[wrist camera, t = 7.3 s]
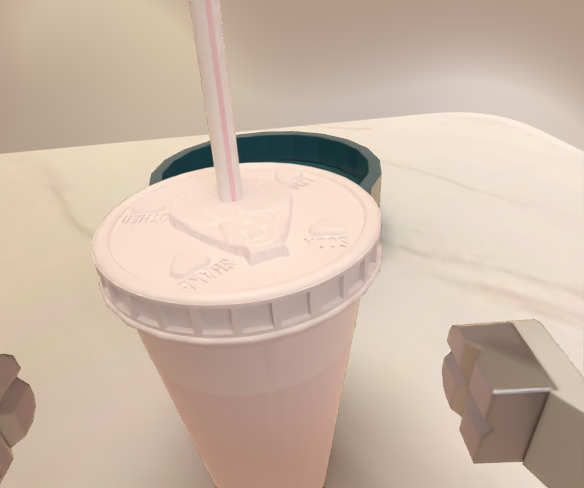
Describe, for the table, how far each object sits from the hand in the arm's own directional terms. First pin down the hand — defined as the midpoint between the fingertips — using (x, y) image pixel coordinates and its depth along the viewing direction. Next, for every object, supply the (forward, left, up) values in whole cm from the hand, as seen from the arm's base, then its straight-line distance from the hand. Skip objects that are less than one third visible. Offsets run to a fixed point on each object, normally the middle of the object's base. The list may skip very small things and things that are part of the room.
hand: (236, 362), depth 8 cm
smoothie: (-2, +2, -8) cm, 9 cm away
